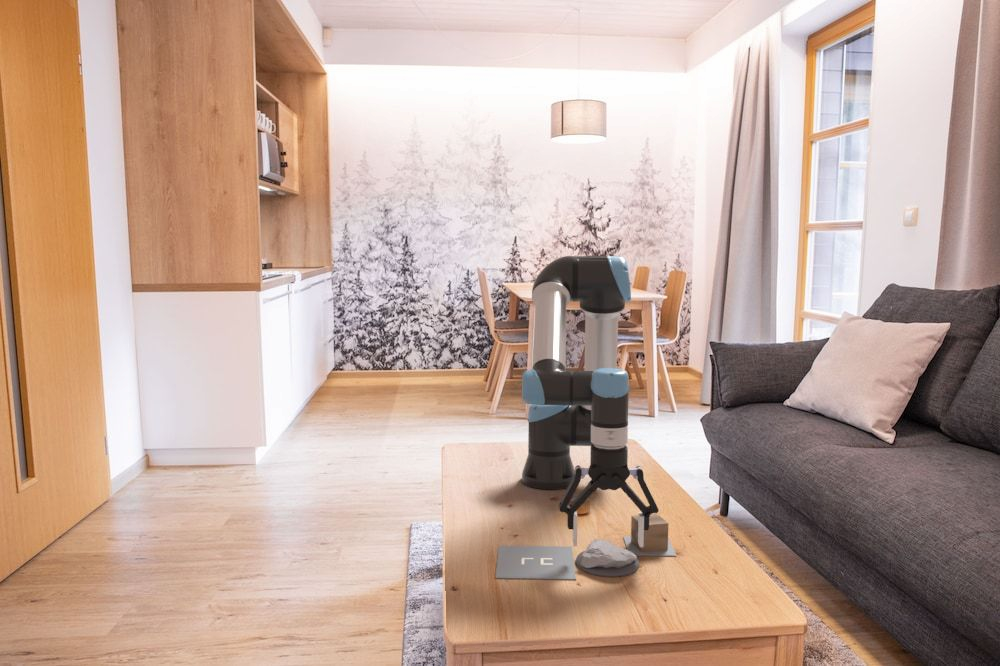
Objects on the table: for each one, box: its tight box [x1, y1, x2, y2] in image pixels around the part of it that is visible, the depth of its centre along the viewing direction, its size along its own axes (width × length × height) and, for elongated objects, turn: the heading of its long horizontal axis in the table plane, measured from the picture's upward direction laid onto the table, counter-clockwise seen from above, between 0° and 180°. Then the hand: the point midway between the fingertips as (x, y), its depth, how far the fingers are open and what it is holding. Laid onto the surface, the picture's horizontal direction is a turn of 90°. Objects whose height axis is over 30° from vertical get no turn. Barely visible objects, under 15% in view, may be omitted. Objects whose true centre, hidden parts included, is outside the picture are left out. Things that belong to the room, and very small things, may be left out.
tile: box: [623, 536, 677, 557], centre depth 162 cm, size 10×10×1 cm
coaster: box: [575, 550, 640, 578], centre depth 154 cm, size 13×13×1 cm
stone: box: [580, 538, 638, 568], centre depth 153 cm, size 10×12×4 cm
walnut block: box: [630, 513, 669, 552], centre depth 162 cm, size 6×6×6 cm
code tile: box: [494, 544, 577, 581], centre depth 154 cm, size 16×16×1 cm
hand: (607, 544), depth 153 cm, fingers open, 13 cm apart
